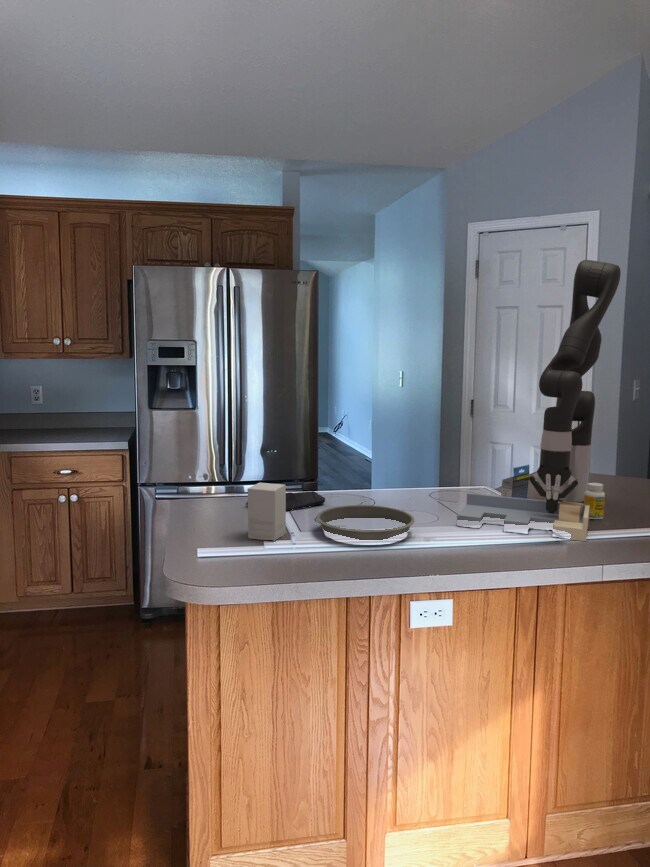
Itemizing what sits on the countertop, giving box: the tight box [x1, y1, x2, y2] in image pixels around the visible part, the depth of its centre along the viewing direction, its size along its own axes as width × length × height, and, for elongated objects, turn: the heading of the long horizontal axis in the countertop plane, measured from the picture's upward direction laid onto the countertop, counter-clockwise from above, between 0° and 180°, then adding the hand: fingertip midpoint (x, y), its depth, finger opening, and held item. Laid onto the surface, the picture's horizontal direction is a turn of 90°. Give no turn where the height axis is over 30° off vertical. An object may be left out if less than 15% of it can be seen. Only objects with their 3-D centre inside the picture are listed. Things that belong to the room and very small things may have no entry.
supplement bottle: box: [583, 482, 606, 520], centre depth 204 cm, size 5×5×10 cm
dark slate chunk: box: [245, 490, 326, 511], centre depth 213 cm, size 15×22×5 cm
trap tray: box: [456, 492, 590, 542], centre depth 194 cm, size 14×32×6 cm, turn 69°
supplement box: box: [247, 482, 287, 541], centre depth 180 cm, size 7×7×13 cm
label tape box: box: [500, 464, 530, 499], centre depth 215 cm, size 9×4×12 cm, turn 135°
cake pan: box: [315, 504, 416, 540], centre depth 186 cm, size 25×25×4 cm
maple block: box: [559, 500, 584, 523], centre depth 191 cm, size 5×5×4 cm
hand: (551, 512), depth 194 cm, fingers closed
